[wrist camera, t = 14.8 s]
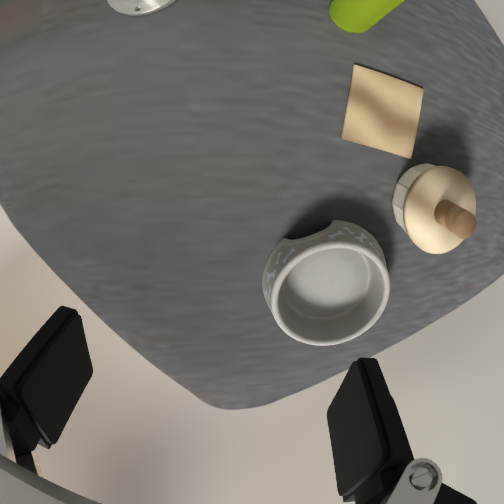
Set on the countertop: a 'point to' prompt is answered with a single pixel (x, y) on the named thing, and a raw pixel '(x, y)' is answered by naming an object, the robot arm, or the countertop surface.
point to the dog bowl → (327, 284)
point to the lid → (439, 209)
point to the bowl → (405, 190)
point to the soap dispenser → (360, 13)
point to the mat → (382, 112)
